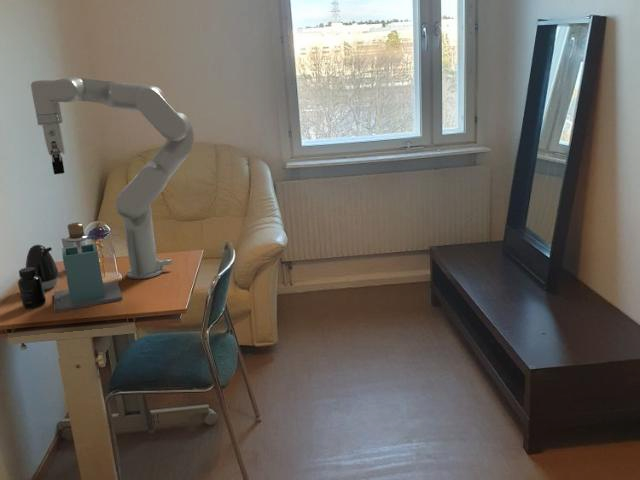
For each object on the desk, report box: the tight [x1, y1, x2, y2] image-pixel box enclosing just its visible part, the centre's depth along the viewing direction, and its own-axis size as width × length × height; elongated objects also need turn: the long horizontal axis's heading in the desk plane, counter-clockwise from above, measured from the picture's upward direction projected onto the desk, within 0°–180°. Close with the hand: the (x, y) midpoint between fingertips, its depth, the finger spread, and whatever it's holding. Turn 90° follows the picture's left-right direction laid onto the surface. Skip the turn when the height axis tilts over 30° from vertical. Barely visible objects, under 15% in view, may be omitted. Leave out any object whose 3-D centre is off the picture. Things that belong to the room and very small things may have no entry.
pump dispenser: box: [25, 244, 60, 291], centre depth 218 cm, size 10×10×15 cm
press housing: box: [53, 242, 123, 314], centre depth 206 cm, size 20×17×16 cm
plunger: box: [66, 222, 89, 254], centre depth 204 cm, size 7×7×22 cm
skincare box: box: [61, 235, 84, 248], centre depth 236 cm, size 6×4×12 cm
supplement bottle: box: [17, 267, 47, 310], centre depth 203 cm, size 7×7×12 cm
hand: (59, 171), depth 214 cm, fingers open, 9 cm apart
